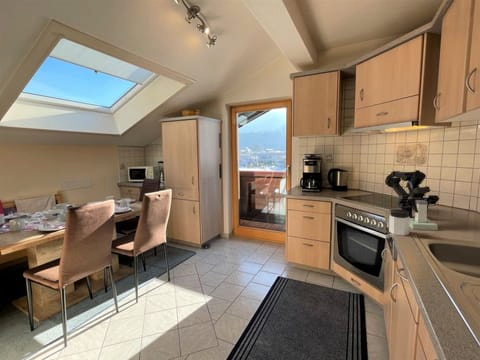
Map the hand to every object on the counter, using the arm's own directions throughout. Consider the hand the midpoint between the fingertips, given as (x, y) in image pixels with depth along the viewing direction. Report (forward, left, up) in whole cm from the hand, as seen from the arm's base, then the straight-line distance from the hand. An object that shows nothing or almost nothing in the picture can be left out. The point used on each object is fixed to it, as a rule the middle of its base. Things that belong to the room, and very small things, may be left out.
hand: (422, 212), depth 134 cm
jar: (+11, -15, -9) cm, 20 cm away
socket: (-1, 0, -8) cm, 9 cm away
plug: (-1, 0, -8) cm, 8 cm away
